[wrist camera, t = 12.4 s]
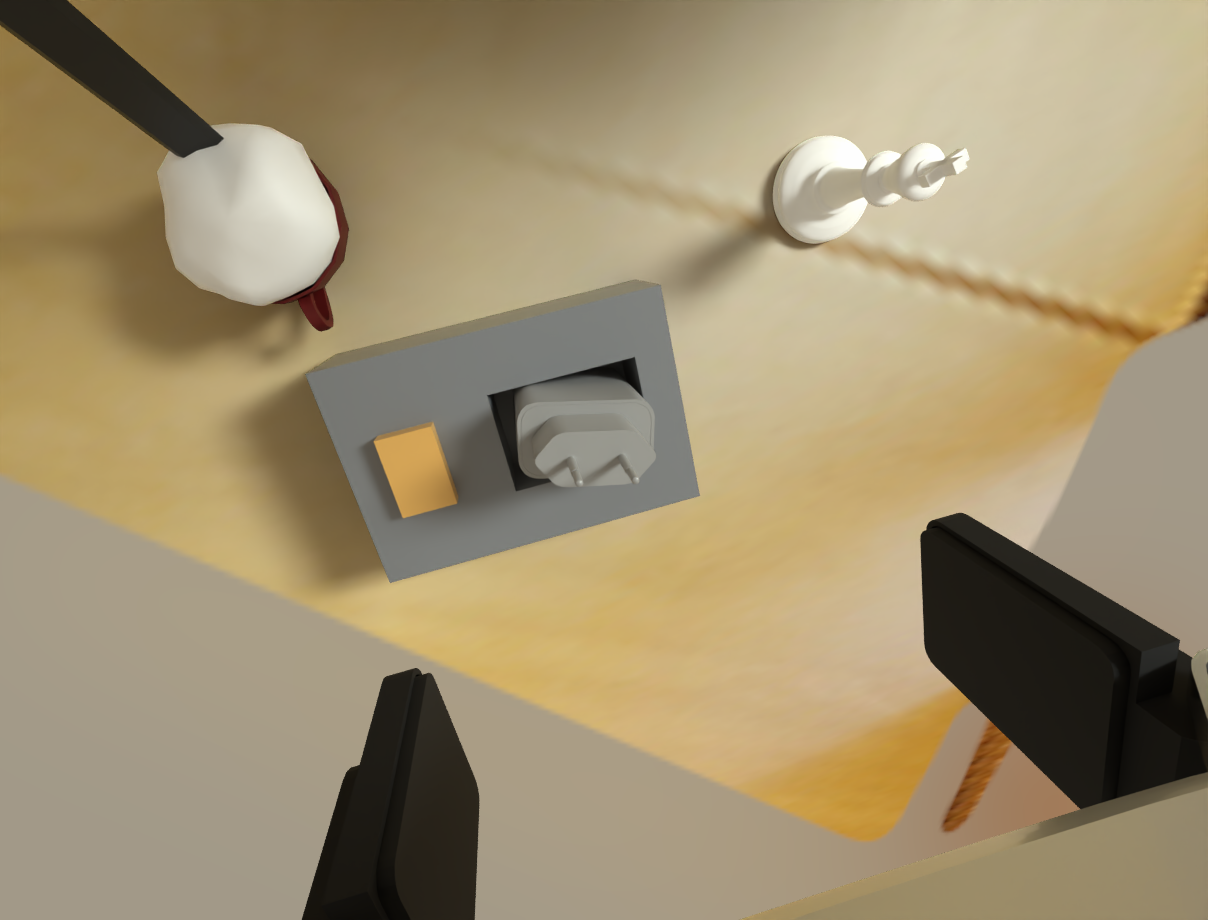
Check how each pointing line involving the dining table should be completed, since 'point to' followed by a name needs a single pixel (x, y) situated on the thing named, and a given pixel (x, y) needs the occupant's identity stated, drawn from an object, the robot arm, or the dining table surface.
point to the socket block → (494, 426)
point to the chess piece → (852, 183)
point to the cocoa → (209, 174)
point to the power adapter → (584, 429)
